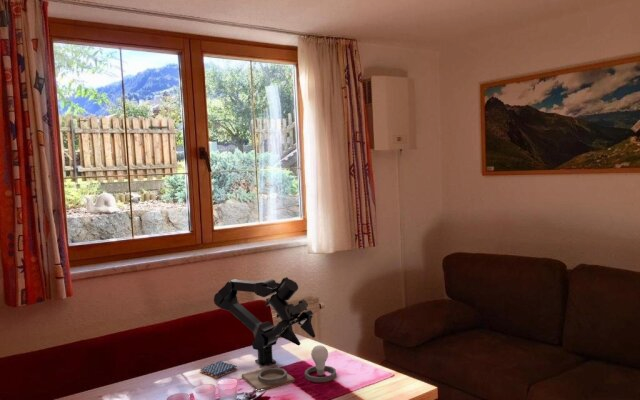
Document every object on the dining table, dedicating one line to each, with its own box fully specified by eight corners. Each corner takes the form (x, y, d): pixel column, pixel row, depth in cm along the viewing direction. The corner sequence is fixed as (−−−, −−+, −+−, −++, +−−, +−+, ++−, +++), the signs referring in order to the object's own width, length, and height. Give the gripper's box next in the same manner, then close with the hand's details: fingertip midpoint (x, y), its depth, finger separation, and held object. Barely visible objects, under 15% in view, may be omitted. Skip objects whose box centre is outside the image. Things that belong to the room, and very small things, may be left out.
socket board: (241, 377, 181) (241, 370, 181) (276, 368, 188) (276, 361, 188) (258, 391, 168) (257, 384, 168) (294, 381, 175) (294, 374, 175)
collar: (299, 374, 182) (299, 370, 181) (325, 367, 187) (325, 363, 187) (314, 384, 172) (314, 380, 172) (341, 377, 178) (341, 372, 177)
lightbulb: (329, 372, 182) (328, 342, 182) (328, 379, 176) (327, 348, 176) (313, 372, 183) (311, 342, 182) (311, 379, 177) (309, 348, 176)
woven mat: (220, 364, 196) (220, 359, 196) (238, 370, 189) (238, 365, 189) (198, 373, 188) (198, 368, 188) (216, 380, 181) (216, 374, 181)
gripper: (277, 300, 177) (303, 335, 171) (308, 288, 192) (333, 320, 186) (261, 319, 181) (287, 353, 176) (293, 306, 197) (317, 338, 191)
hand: (307, 340), depth 182 cm, fingers open, 9 cm apart
